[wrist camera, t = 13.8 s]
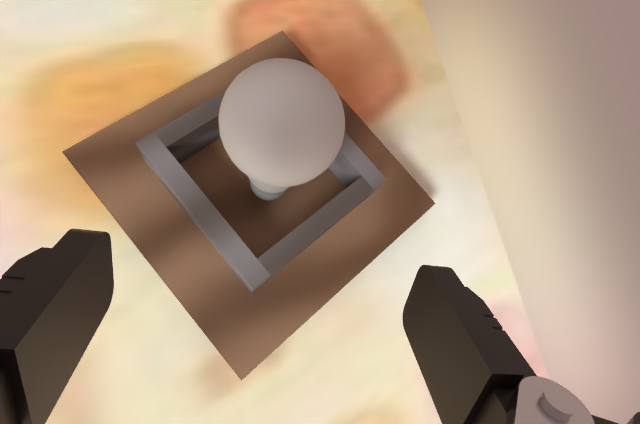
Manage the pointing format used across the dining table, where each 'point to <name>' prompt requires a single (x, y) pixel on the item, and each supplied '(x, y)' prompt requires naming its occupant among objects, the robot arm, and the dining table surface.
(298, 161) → the lightbulb
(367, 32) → the dining table surface
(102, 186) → the bulb socket
